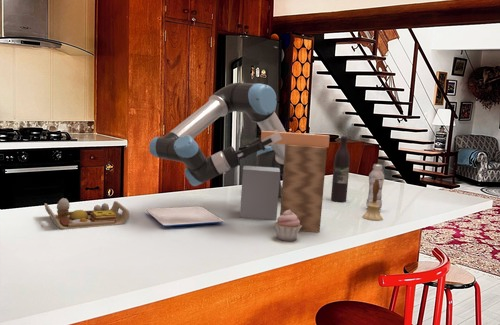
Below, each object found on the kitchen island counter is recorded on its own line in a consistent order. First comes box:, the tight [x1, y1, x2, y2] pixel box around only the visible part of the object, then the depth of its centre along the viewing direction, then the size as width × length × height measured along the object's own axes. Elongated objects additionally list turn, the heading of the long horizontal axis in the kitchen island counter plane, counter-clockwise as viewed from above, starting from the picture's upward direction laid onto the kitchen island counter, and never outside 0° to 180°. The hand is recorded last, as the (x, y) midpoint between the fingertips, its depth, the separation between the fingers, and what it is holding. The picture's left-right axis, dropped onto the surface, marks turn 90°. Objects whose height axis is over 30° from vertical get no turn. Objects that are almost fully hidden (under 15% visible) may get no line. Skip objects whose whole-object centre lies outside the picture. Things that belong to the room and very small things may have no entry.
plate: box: [145, 205, 225, 227], centre depth 185 cm, size 22×22×2 cm
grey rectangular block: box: [239, 165, 281, 221], centre depth 197 cm, size 14×10×18 cm
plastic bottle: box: [365, 163, 385, 210], centre depth 221 cm, size 6×7×20 cm
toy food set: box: [44, 197, 131, 231], centre depth 175 cm, size 25×18×8 cm
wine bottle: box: [330, 135, 351, 203], centre depth 234 cm, size 7×7×30 cm
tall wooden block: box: [279, 144, 328, 233], centre depth 183 cm, size 14×10×30 cm
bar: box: [260, 130, 331, 148], centre depth 181 cm, size 24×4×4 cm, turn 88°
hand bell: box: [362, 179, 384, 222], centre depth 205 cm, size 8×8×16 cm
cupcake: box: [273, 210, 302, 242], centre depth 169 cm, size 9×9×10 cm
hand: (280, 133), depth 181 cm, fingers open, 13 cm apart
